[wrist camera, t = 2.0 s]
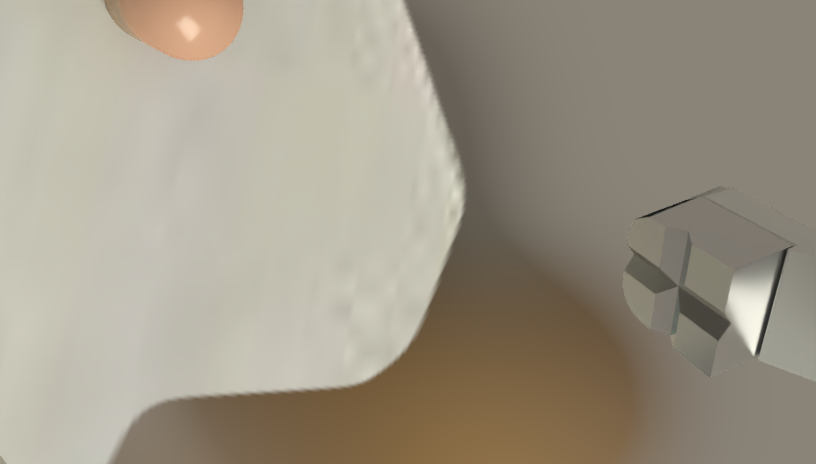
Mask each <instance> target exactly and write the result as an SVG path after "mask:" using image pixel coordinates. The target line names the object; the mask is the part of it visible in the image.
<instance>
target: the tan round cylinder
mask: <svg viewBox="0 0 816 464" xmlns="http://www.w3.org/2000/svg"><path fill="white" fill-rule="evenodd" d="M105 4H106V7H107V10H108V12H109V14H110V16H111V17H112V19H113V20H114V22H115V23H116V24H117V25H118V26H119V27H120V28H121V29H122V30H123V31H124V32H126V33H127V34H129V35H130V36H132V37H134V38H136V39H138V40H140V41H142V42H144V43H146V44H148V45H150V46H152V47H154V48H155V49H157V50H159V51H161V52H163V53H165V54H167V55H169V56H172V57H175V58H177V59H182V60H190V61H195V60H203V59H207V58H210V57H213V56H215V55H217V54H219V53H220V52H222V51H223V50H224V49H225V48H227V47H228V46H229V45H230V43H231V42H232V41H233V40H234V38H235V37H236V35H237V33H238V31H239V29H240V26H241V22H242V17H243V0H105Z"/></svg>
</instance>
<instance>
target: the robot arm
mask: <svg viewBox="0 0 816 464" xmlns="http://www.w3.org/2000/svg"><path fill="white" fill-rule="evenodd" d="M627 245H628V247H629V248H630V249H631V251H632V252H633V253H634V255H633V257H632V258H631V260H630V261H629V263H628V265H627V266H626V268H625V270H624V278H623V292H624V294H625V297H626V300H627V303H628V306H629V308H630V309H631V311H632V312H633V313H634V315H635V316H636V317H637V319H638V320H639V321H641V322H642V323H643V324H644V325H645V326H647V327H648V328H649V329H650V330H653V331H657V332H660V333H664V334H667V335H671V340H672V344H673V348H674V349H675V350H676V351H677V352H678V353H680V354H681V355H682V356H683V357H685V358H686V359H687V360H688V361H689V362H691V363H692V364H693V365H695V366H696V367H697V368H698V369H700V370H701V371H702V372H703V373H704V374H706V375H707V376H708V377H709V378H711V377H714V376H716V375H718V374H721V373H723V372H725V371H727V370H730V369H732V368H734V367H736V366H739V365H741V364H743V363H745V362H748V361H750V360H752V359H754V358H757V357H759V359H758V360H759V361H762V362H765V363H767V364H770V365H773V366H775V367H778V368H781V369H783V370H786V371H789V372H791V373H794V374H797V375H800V376H802V377H805V378H807V379H810V380H813V381H815V382H816V230H814V229H813V228H811V227H808V226H806V225H805V224H803V223H801V222H799V221H797V220H795V219H793V218H791V217H789V216H787V215H785V214H783V213H781V212H779V211H777V210H775V209H773V208H771V207H769V206H767V205H766V204H764V203H762V202H760V201H757V200H756V199H754V198H752V197H750V196H748V195H746V194H744V193H742V192H740V191H738V190H736V189H734V188H730V187H722V186H719V187H716V188H714V189H711V190H709V191H706V192H704V193H701V194H698V195H696V196H693V197H692V198H690V199H688V200H685V201H682V202H679V203H677V204H674V205H672V206H668V207H666V208H663V209H660V210H658V211H655V212H652V213H650V214H647V215H644V216H642V217H639V218H636V219H635V220H634V222H633V224H632V225H631V227H630V229H629V233H628V241H627ZM0 464H6V463H5V461H4V460H3V458H2V457H1V456H0Z"/></svg>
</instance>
